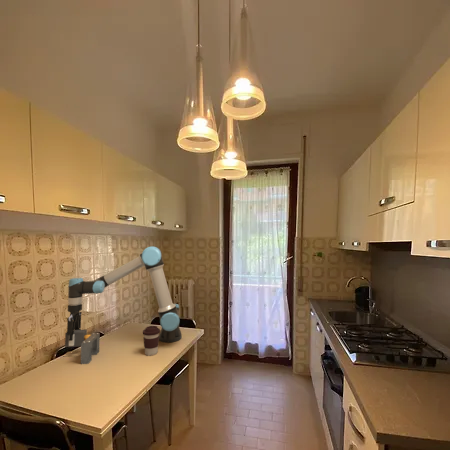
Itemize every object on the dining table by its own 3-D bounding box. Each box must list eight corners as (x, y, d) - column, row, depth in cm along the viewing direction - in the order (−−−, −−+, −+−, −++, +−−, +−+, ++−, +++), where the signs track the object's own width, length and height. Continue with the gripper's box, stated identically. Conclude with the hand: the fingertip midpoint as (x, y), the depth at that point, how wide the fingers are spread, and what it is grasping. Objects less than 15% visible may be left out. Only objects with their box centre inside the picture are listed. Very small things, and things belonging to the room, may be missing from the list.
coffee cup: (163, 351, 157) (163, 325, 158) (153, 357, 147) (153, 330, 149) (149, 349, 160) (149, 324, 161) (139, 355, 151) (139, 329, 152)
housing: (99, 351, 157) (99, 332, 158) (88, 363, 141) (88, 342, 142) (92, 352, 157) (92, 332, 157) (80, 364, 141) (81, 342, 142)
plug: (91, 342, 158) (92, 329, 159) (88, 345, 153) (88, 331, 154) (68, 343, 156) (69, 330, 157) (64, 347, 151) (65, 333, 152)
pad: (83, 351, 158) (83, 350, 158) (79, 355, 152) (79, 355, 152) (68, 352, 157) (68, 351, 157) (63, 356, 151) (63, 356, 151)
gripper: (75, 301, 165) (74, 338, 163) (60, 307, 147) (59, 350, 145) (87, 300, 166) (86, 338, 164) (74, 307, 148) (73, 349, 146)
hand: (73, 343), depth 154 cm, fingers closed on plug, 5 cm apart
